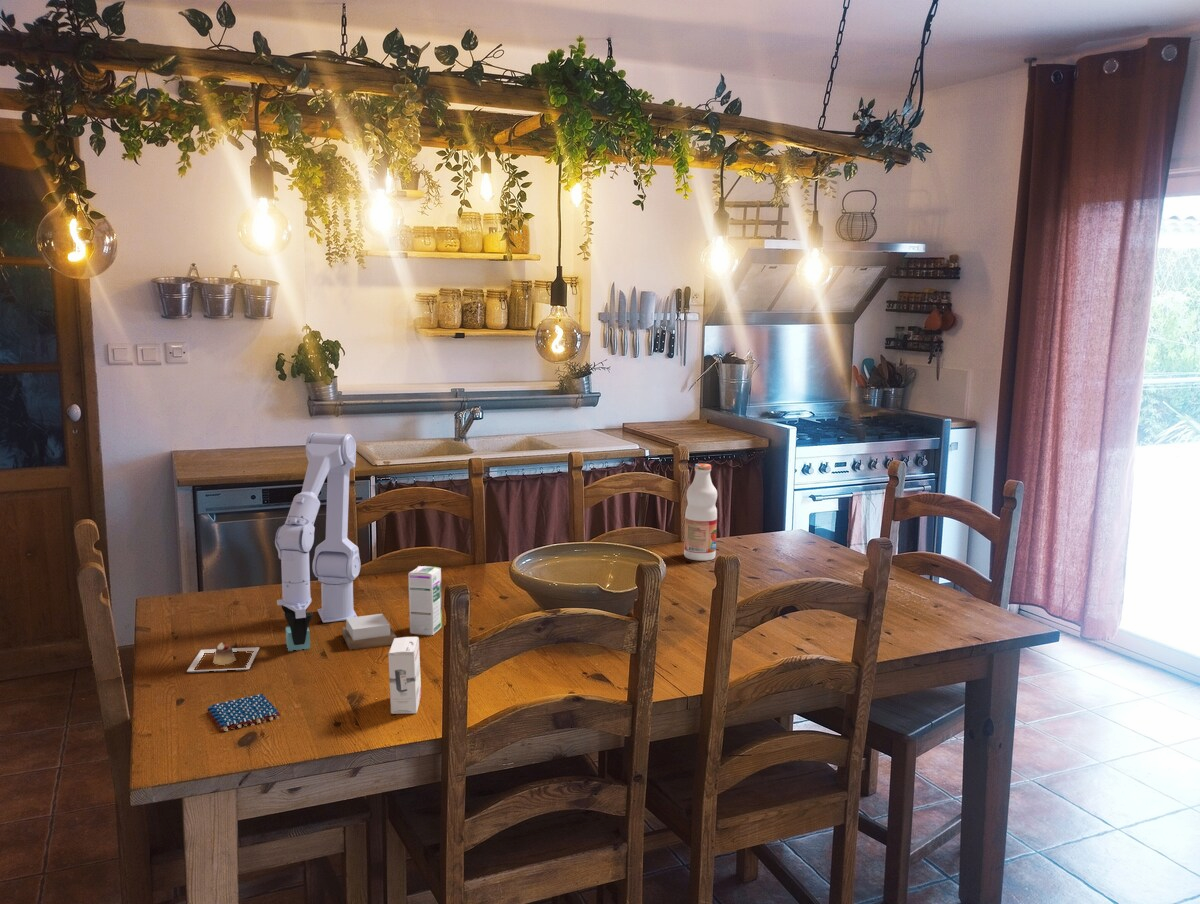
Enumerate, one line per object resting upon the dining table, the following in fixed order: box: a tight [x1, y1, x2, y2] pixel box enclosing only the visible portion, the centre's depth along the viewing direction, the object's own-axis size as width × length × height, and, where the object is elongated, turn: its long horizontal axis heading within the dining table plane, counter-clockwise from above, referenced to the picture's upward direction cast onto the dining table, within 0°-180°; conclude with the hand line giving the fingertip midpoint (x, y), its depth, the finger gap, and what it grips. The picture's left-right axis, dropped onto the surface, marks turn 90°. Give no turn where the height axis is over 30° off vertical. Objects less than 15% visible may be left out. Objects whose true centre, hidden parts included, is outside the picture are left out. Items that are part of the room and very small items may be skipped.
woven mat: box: [206, 693, 281, 732], centre depth 173 cm, size 10×11×2 cm
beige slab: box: [341, 626, 397, 651], centre depth 212 cm, size 10×10×2 cm
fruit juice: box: [683, 463, 718, 562], centre depth 283 cm, size 9×9×28 cm
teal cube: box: [285, 625, 311, 652], centre depth 207 cm, size 4×4×4 cm
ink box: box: [387, 636, 422, 715], centre depth 178 cm, size 9×5×12 cm, turn 5°
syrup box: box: [407, 565, 443, 636], centre depth 217 cm, size 6×6×14 cm
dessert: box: [186, 641, 260, 673], centre depth 198 cm, size 12×12×5 cm
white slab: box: [345, 613, 391, 641], centre depth 211 cm, size 8×8×2 cm
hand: (297, 640), depth 207 cm, fingers closed on teal cube, 4 cm apart
